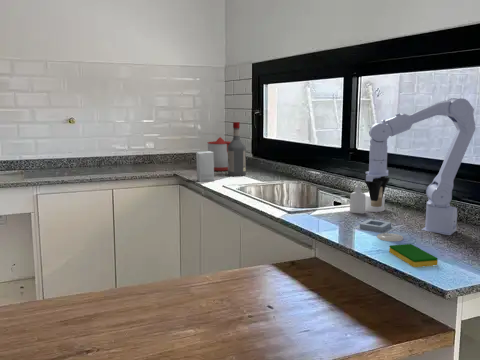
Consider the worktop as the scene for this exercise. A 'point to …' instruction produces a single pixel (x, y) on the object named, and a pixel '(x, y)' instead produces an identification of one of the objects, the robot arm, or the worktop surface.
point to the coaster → (390, 237)
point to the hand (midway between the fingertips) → (376, 199)
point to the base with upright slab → (371, 208)
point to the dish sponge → (413, 255)
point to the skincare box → (205, 166)
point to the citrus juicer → (219, 154)
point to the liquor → (236, 154)
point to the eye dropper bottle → (357, 200)
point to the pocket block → (376, 226)
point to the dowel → (379, 202)
